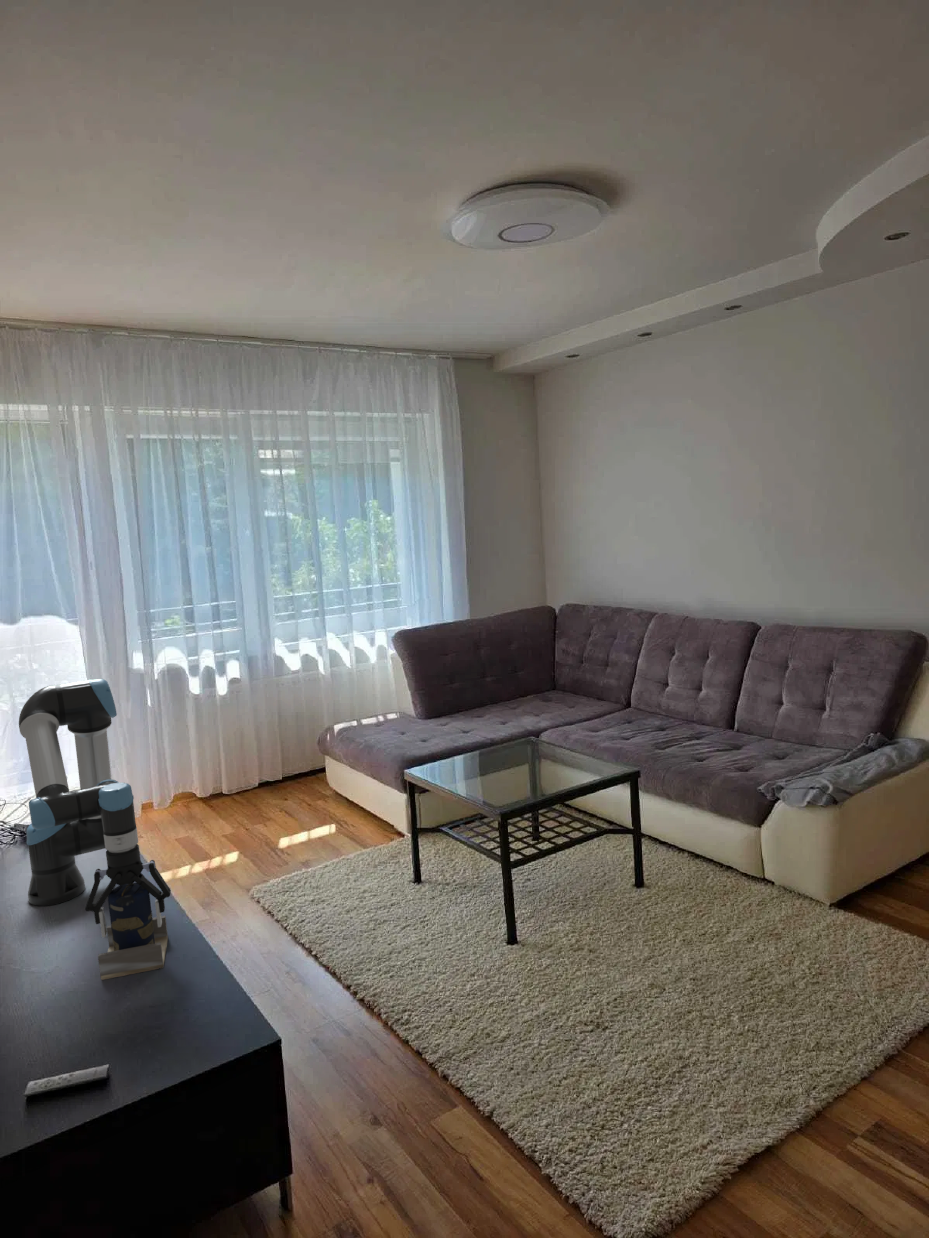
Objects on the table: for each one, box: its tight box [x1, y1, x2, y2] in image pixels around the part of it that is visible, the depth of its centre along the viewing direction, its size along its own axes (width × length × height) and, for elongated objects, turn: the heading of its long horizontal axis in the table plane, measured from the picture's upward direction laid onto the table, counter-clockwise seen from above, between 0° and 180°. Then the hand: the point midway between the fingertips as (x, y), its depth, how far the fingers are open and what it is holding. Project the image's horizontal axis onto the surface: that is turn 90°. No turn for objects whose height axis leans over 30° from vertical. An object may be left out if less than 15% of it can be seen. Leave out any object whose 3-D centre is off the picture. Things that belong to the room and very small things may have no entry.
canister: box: [107, 882, 155, 951], centre depth 204 cm, size 10×10×18 cm
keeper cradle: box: [97, 915, 169, 981], centre depth 205 cm, size 15×14×6 cm
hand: (132, 929), depth 204 cm, fingers open, 12 cm apart
